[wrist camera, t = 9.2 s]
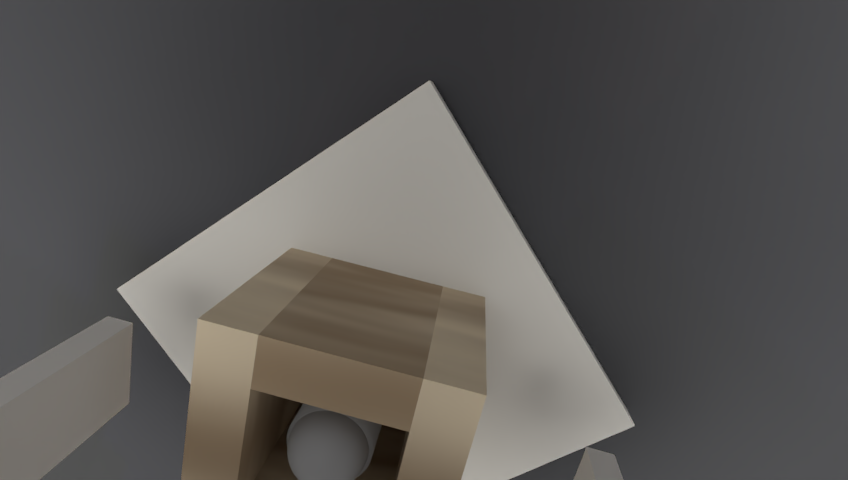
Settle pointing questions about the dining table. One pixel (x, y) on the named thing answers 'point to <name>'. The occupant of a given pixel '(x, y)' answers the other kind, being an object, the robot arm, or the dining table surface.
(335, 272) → the wooden hollow block
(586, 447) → the robot arm
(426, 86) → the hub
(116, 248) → the dining table surface
